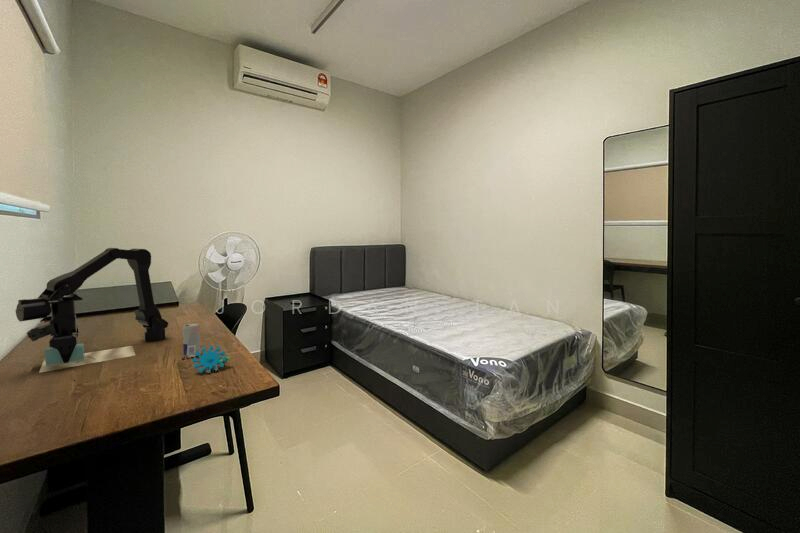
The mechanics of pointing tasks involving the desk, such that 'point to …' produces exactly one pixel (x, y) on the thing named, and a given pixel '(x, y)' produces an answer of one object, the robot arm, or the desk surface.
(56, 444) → the desk surface
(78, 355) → the sanding block
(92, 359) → the board
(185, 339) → the energy drink
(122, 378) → the desk surface
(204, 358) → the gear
